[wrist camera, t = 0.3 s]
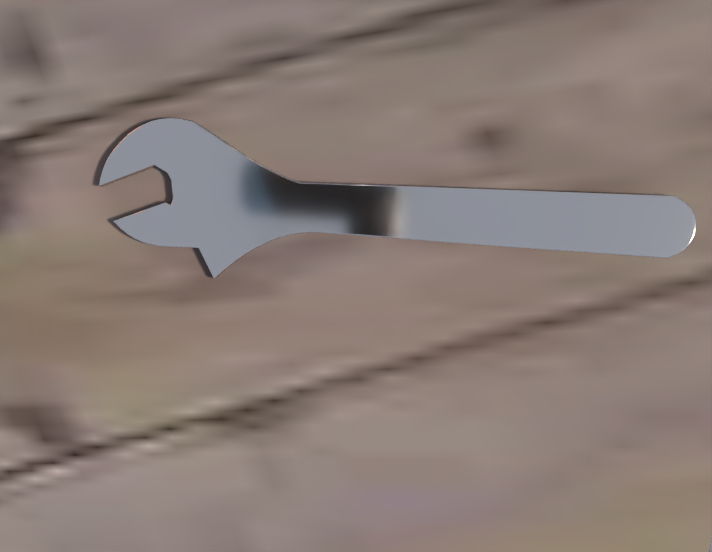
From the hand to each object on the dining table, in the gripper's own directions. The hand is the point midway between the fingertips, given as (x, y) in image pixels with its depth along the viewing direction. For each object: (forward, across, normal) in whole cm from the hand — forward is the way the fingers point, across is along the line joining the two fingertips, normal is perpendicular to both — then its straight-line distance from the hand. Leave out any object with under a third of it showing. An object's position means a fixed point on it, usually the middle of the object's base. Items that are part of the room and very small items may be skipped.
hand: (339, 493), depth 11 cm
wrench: (+27, +4, +2) cm, 27 cm away
